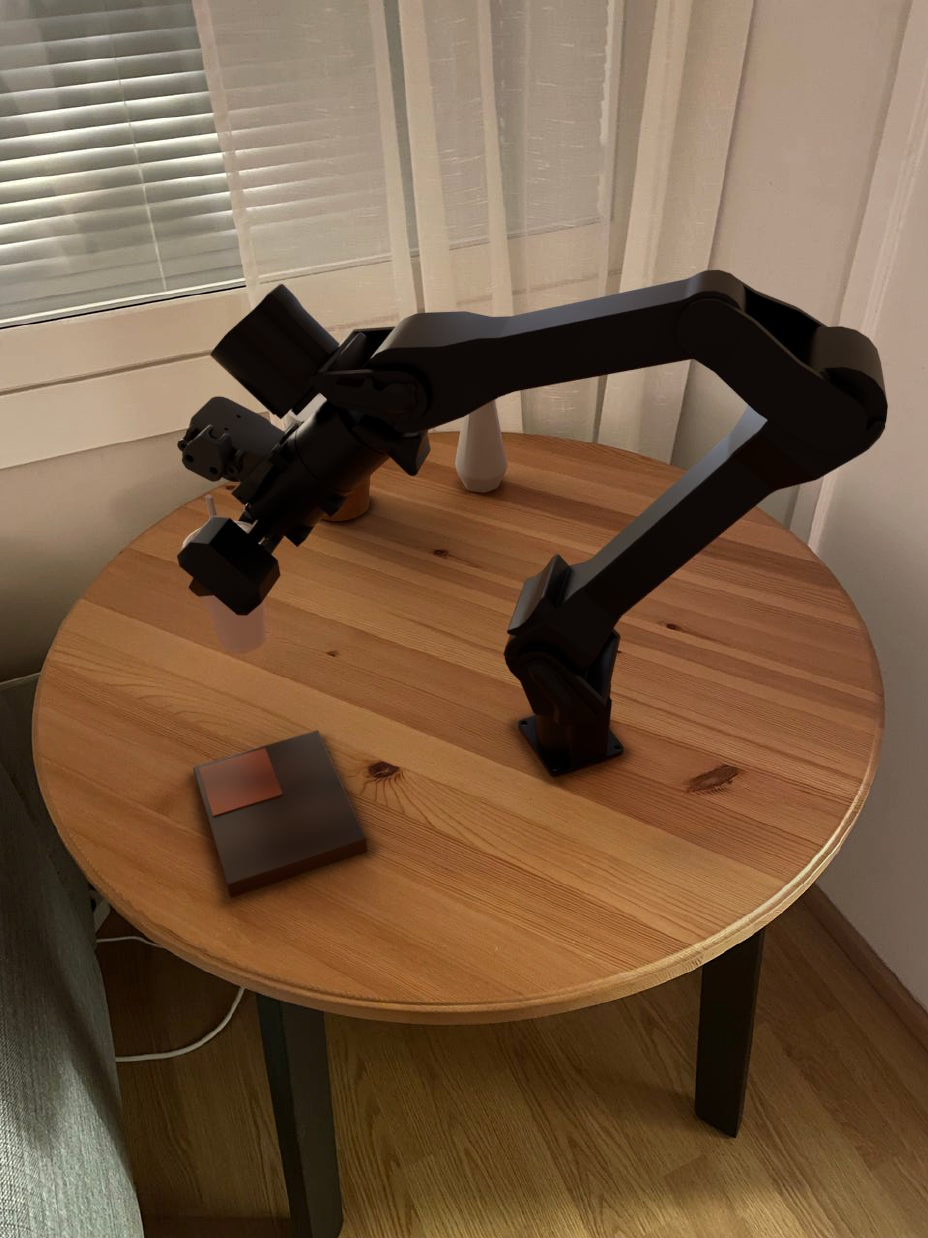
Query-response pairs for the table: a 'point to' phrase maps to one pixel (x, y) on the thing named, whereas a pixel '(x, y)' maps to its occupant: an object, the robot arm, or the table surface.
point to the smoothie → (232, 628)
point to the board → (278, 812)
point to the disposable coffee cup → (358, 497)
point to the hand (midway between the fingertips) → (213, 567)
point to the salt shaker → (481, 450)
